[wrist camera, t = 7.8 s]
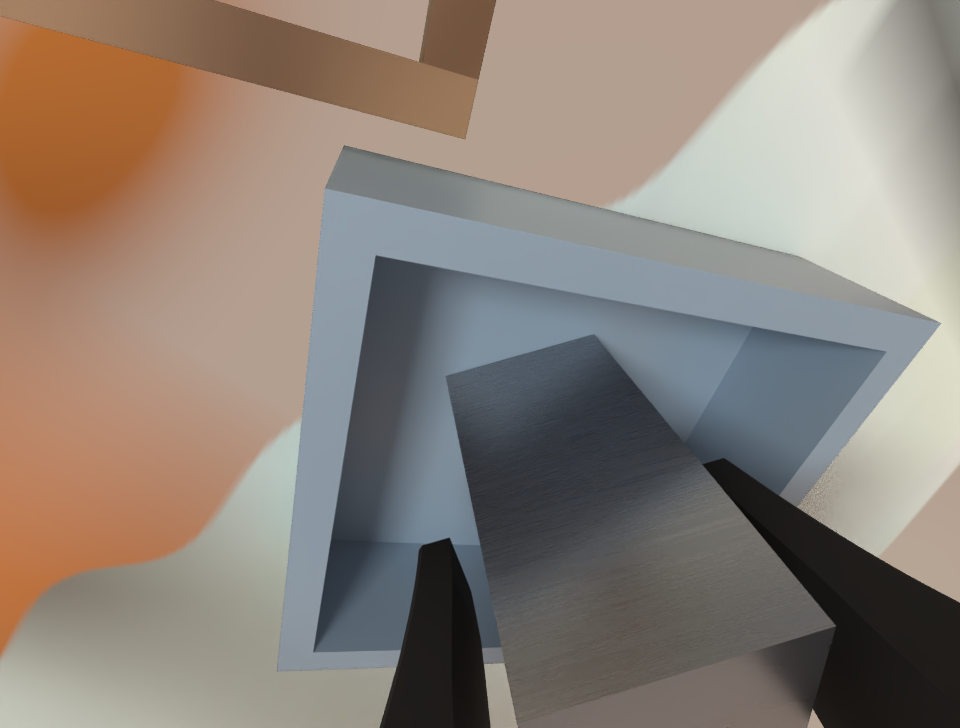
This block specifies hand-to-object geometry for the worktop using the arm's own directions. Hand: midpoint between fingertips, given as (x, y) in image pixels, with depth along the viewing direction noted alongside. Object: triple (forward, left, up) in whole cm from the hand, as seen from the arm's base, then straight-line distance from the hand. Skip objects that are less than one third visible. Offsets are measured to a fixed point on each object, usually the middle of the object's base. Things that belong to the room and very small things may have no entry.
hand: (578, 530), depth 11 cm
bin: (0, 0, -4) cm, 4 cm away
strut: (0, 0, -4) cm, 4 cm away
